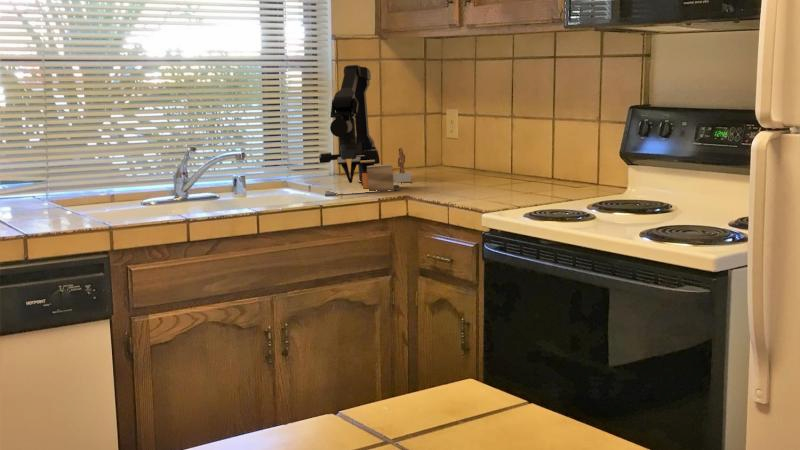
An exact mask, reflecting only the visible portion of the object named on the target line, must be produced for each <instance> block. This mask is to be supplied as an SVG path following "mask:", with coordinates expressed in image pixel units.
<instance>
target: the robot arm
mask: <svg viewBox="0 0 800 450" xmlns="http://www.w3.org/2000/svg"><path fill="white" fill-rule="evenodd" d="M371 78H372V75H371V70H370V69H369V68H368V67H366V66H360V65H358V64H349V65H348V64H347V65H346V66H344V68H343V77H342V82H341V86H340V90H338V91H337V92H335V94H334V96H333V99H332V100H331V106H330V108H331V109H330V118H332V119H333V118H335V119H333V120H332V121H331V123H330V127H329V129H330V132H331V134H332V135H333V136H335V137H338V138H337V139H338V153H337V154H336V153H335V154H332V152H330V151H329V152H321V153H320V154H319V156H318V159H319V164H326V163H327V164H329V163H331V162H332V161H337V165H340V166H341V167H342V169H343V170H344V173H345V175H346V177H347V181H348V183H349V184H352V183H353V179H354V174H355V171H356V167H357V168H358V180H360V181H361V175H362V172H366V171H367V166H375V165H380V164H381V160H380V155H379V154H380V153H379V151H378V149H377V146H376V145H375V140H374V139H373V137H371V135H370V130H369V129H370V128H369V118H368V117H369V116H368V106H367V103H368V102H367V90H368V89H369V86H370V84H371V83H370V82H371V80H372V79H371ZM347 160H350V171H349V167H348V161H347Z"/></svg>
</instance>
